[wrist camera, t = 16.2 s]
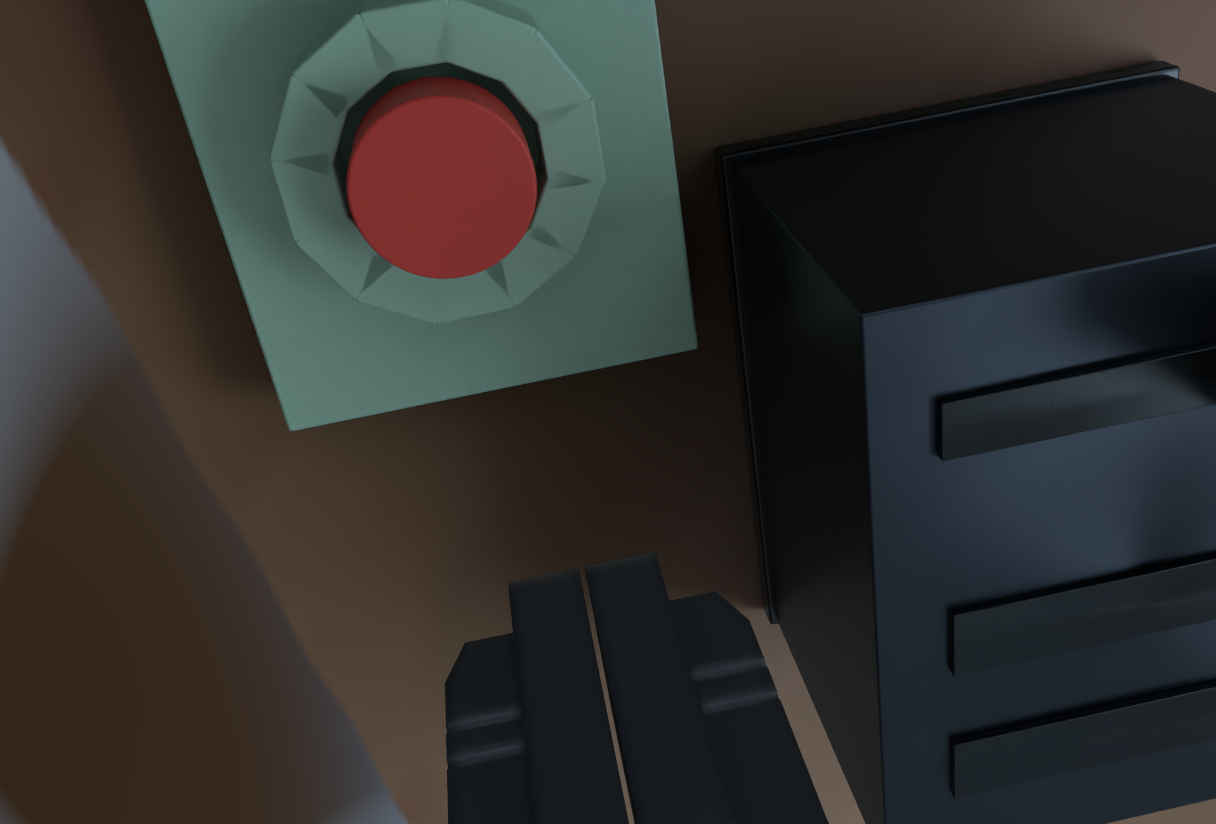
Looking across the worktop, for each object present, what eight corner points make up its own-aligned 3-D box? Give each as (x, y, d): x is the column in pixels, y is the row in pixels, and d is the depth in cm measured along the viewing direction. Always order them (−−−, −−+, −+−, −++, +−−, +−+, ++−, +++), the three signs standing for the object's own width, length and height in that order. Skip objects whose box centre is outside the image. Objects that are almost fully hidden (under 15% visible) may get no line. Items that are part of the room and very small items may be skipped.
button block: (130, -123, 23) (79, -109, 20) (612, -208, 24) (645, -209, 20) (297, 391, 29) (281, 472, 26) (681, 313, 30) (716, 383, 26)
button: (329, 94, 22) (323, 115, 21) (511, 60, 22) (518, 79, 21) (376, 264, 24) (372, 296, 23) (543, 231, 24) (552, 260, 23)
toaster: (713, 146, 28) (851, 311, 19) (1162, 59, 28) (1504, 179, 19) (763, 609, 35) (881, 890, 26) (1123, 532, 35) (1360, 779, 26)
